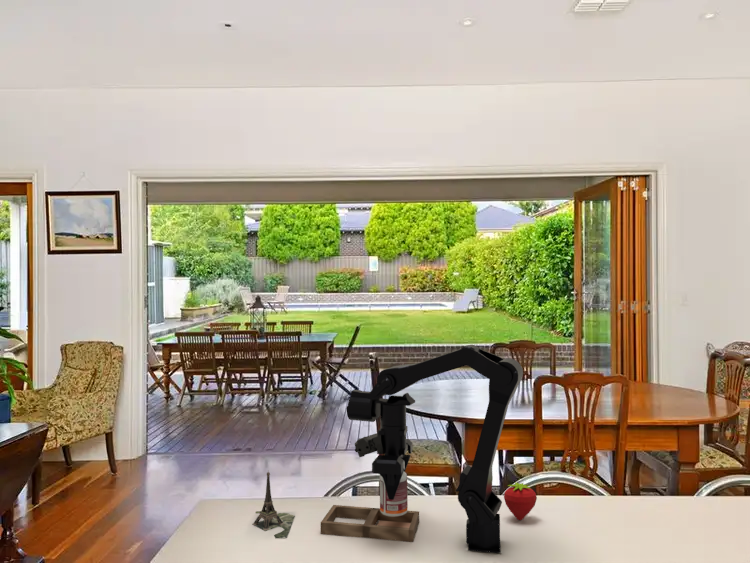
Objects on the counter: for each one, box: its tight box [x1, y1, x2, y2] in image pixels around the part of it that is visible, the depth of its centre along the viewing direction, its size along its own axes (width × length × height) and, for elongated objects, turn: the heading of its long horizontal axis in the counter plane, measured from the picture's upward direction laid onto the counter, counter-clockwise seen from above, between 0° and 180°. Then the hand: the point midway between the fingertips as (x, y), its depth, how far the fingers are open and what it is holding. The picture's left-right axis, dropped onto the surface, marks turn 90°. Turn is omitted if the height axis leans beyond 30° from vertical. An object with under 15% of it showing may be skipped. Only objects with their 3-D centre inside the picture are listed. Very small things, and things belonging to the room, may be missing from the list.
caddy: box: [320, 504, 420, 543], centre depth 128 cm, size 20×10×2 cm, turn 79°
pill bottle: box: [379, 460, 409, 517], centre depth 128 cm, size 6×6×11 cm
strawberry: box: [503, 479, 538, 521], centre depth 133 cm, size 6×8×10 cm
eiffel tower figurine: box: [251, 471, 296, 539], centre depth 131 cm, size 15×10×13 cm
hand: (393, 494), depth 128 cm, fingers closed on pill bottle, 6 cm apart
